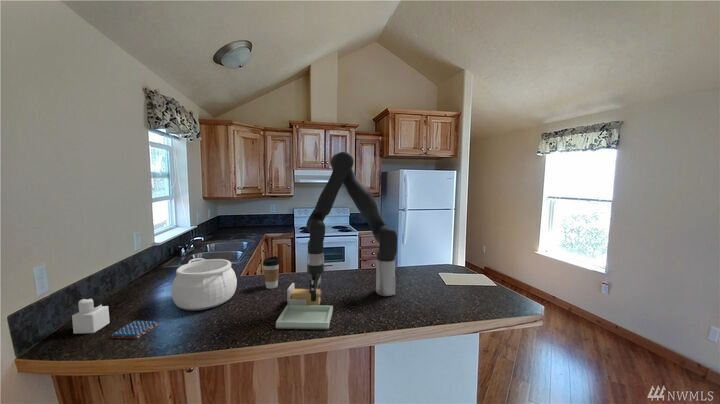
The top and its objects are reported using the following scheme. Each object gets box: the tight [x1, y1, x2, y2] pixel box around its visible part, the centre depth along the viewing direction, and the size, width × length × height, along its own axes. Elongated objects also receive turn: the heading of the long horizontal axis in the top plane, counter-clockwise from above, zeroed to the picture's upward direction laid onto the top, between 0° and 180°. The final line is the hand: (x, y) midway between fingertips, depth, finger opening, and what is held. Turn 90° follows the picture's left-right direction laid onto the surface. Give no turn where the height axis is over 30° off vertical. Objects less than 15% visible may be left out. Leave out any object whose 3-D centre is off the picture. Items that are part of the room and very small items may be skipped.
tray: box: [275, 304, 334, 330], centre depth 108 cm, size 20×14×2 cm
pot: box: [170, 257, 238, 311], centre depth 125 cm, size 29×26×17 cm
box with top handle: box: [292, 288, 323, 305], centre depth 122 cm, size 13×5×6 cm, turn 90°
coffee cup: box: [262, 256, 280, 290], centre depth 142 cm, size 8×8×15 cm
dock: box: [286, 282, 307, 305], centre depth 122 cm, size 9×8×8 cm
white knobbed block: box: [71, 295, 110, 335], centre depth 101 cm, size 7×7×12 cm
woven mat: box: [110, 319, 159, 340], centre depth 100 cm, size 10×11×2 cm
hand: (315, 296), depth 122 cm, fingers open, 8 cm apart
